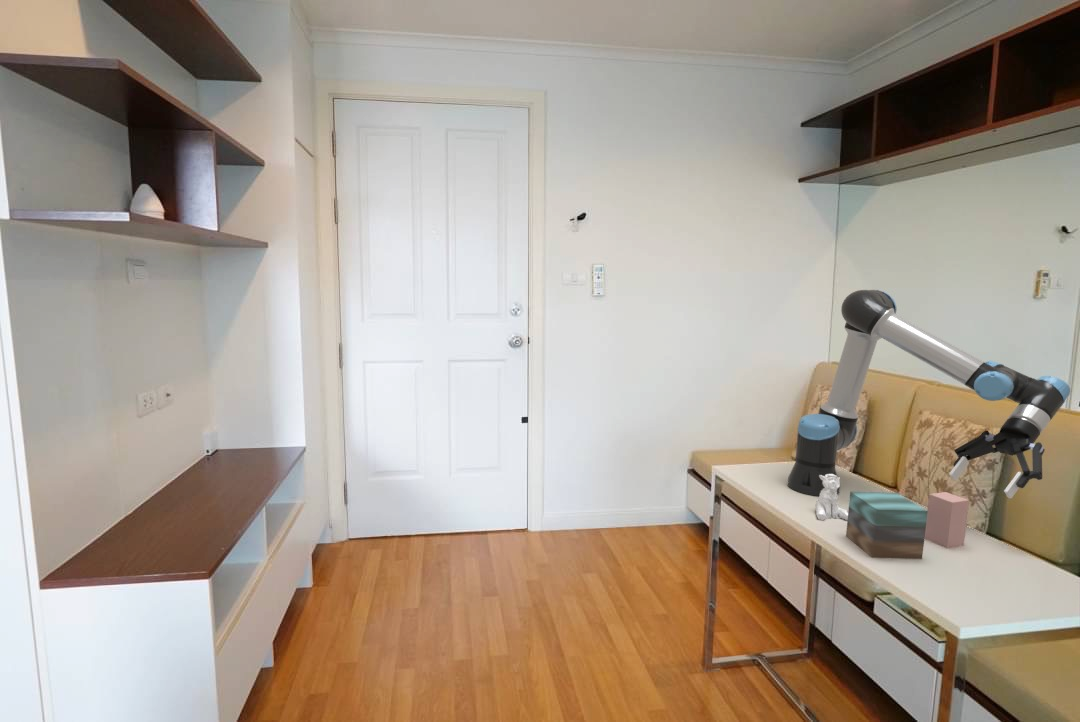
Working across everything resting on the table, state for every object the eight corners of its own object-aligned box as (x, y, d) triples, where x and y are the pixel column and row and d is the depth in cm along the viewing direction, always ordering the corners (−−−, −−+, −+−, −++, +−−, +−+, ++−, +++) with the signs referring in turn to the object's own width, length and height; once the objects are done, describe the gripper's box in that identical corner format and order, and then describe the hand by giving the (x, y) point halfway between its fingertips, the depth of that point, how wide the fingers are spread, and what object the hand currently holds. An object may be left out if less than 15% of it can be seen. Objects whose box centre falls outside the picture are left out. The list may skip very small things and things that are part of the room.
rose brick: (924, 538, 149) (929, 494, 148) (940, 535, 151) (945, 491, 150) (946, 548, 143) (952, 502, 142) (963, 545, 145) (969, 500, 144)
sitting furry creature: (818, 520, 159) (822, 479, 157) (803, 508, 168) (807, 469, 166) (852, 521, 159) (856, 479, 158) (836, 509, 168) (839, 469, 166)
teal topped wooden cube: (846, 535, 149) (850, 491, 148) (892, 537, 149) (896, 492, 148) (871, 557, 138) (877, 509, 136) (922, 558, 137) (927, 510, 136)
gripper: (1086, 447, 141) (1039, 512, 138) (980, 424, 165) (937, 479, 161) (1076, 427, 139) (1027, 493, 136) (969, 406, 162) (926, 462, 159)
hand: (978, 485), depth 149 cm, fingers open, 13 cm apart
